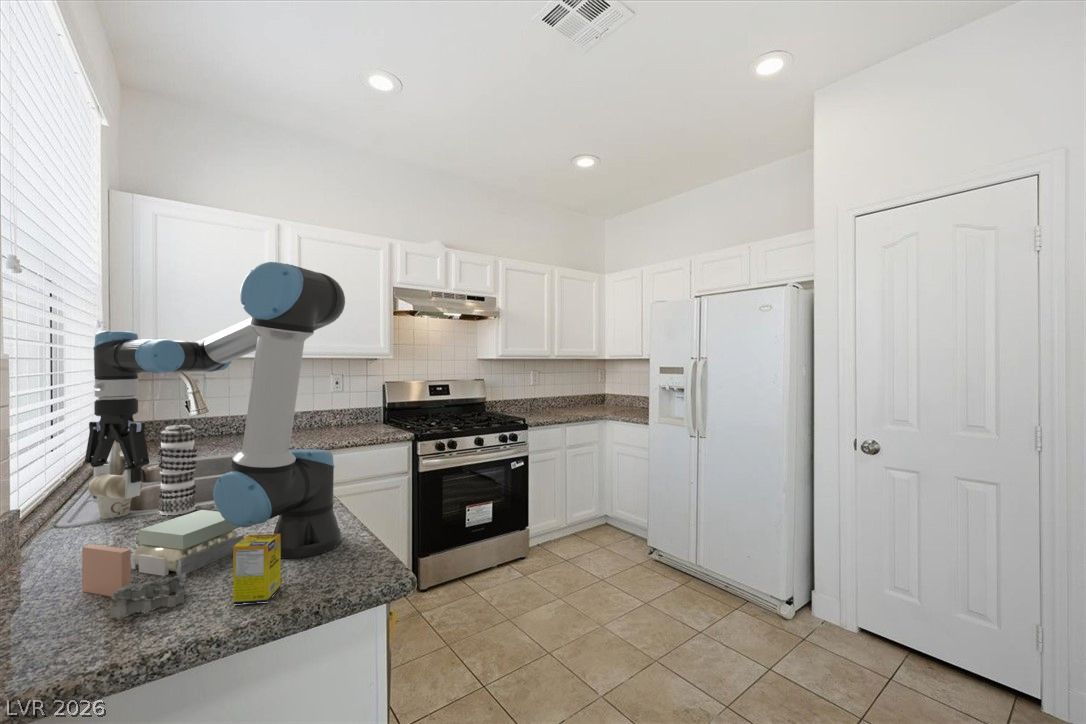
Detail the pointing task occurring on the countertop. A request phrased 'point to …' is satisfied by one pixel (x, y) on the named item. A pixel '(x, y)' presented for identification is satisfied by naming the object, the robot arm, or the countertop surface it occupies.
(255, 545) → the supplement box
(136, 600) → the egg carton
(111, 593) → the board
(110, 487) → the roller
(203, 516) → the slab
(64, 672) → the countertop surface
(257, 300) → the robot arm
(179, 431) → the decorative candle
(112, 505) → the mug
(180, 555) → the roller bed
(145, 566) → the roller cradle
